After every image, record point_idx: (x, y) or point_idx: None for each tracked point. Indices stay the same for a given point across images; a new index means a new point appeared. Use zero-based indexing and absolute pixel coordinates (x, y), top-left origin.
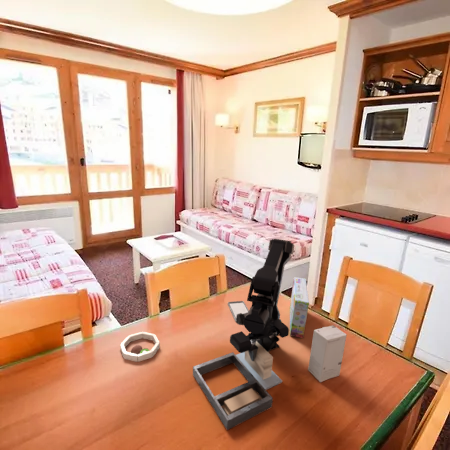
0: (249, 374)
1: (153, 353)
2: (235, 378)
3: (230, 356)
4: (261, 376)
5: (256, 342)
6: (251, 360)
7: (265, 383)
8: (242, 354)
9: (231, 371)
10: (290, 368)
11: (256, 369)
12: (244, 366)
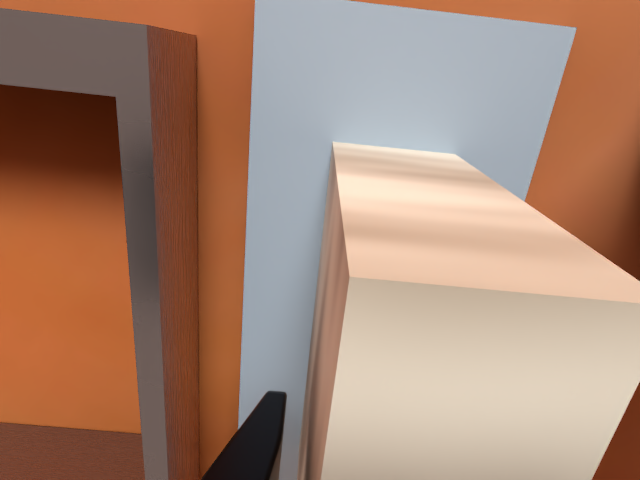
0: (147, 458)
1: None
2: (84, 291)
3: (62, 87)
4: (300, 438)
5: (554, 476)
6: (316, 322)
7: (288, 476)
8: (371, 48)
9: (87, 196)
10: (618, 454)
11: (307, 384)
12: (150, 369)
